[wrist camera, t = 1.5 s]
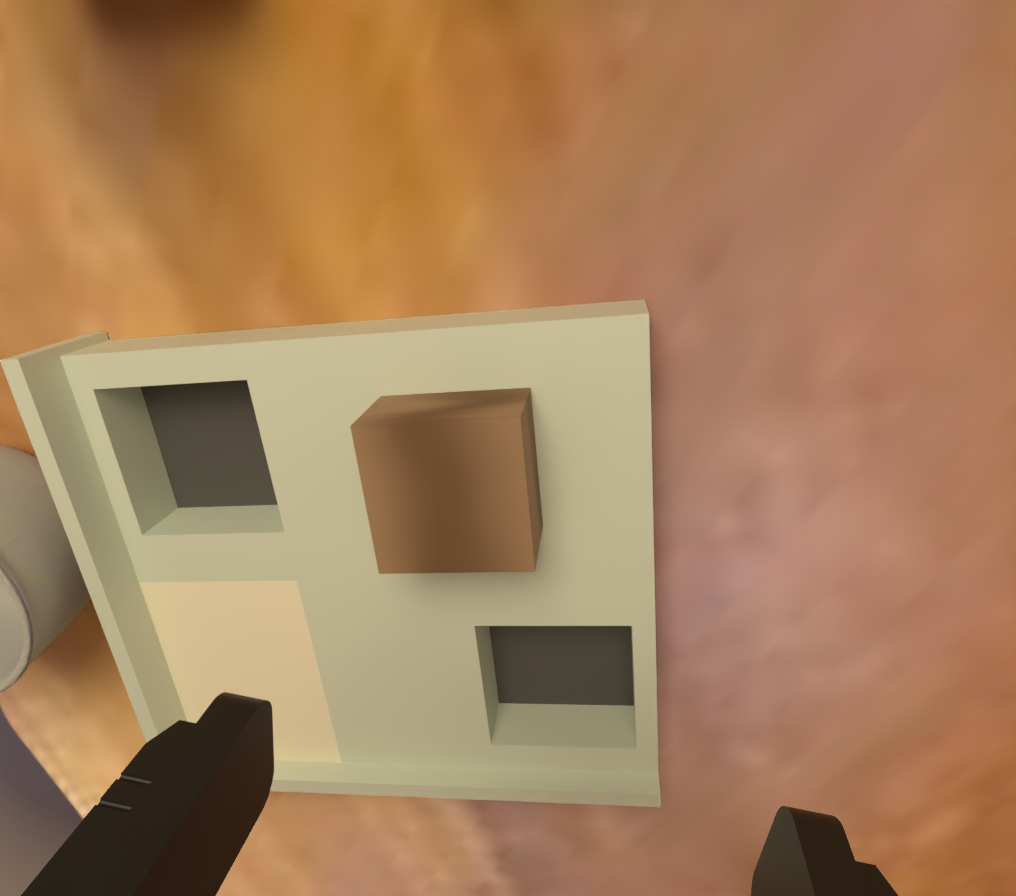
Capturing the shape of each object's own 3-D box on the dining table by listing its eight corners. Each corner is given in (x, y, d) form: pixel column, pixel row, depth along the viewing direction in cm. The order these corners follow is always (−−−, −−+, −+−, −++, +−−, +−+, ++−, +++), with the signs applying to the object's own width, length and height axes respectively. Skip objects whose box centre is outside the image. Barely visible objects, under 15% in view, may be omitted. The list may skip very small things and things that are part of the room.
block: (530, 387, 26) (520, 417, 22) (542, 525, 28) (535, 571, 24) (380, 396, 26) (350, 426, 23) (404, 529, 29) (378, 573, 25)
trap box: (644, 289, 27) (652, 312, 22) (654, 743, 35) (662, 829, 30) (90, 332, 30) (-1, 360, 26) (221, 731, 39) (170, 806, 34)
